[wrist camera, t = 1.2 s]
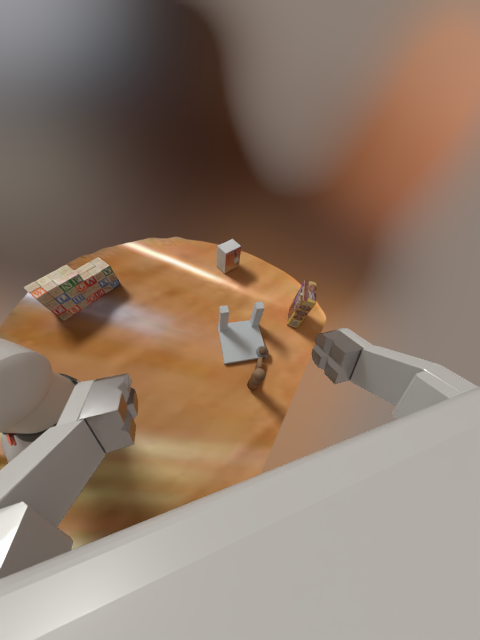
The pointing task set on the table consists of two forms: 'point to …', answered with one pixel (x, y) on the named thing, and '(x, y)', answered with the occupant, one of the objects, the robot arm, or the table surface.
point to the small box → (228, 256)
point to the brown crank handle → (257, 372)
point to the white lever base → (241, 336)
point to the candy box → (302, 304)
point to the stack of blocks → (73, 287)
